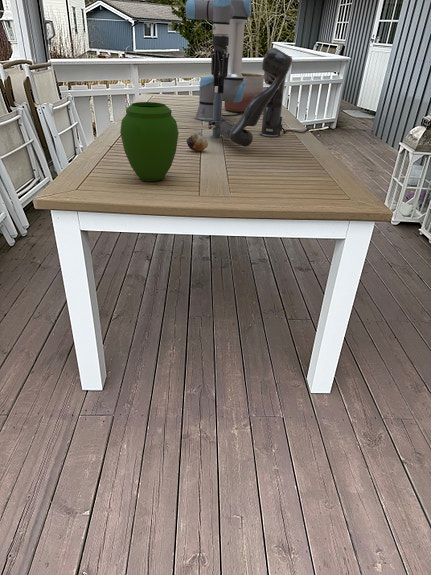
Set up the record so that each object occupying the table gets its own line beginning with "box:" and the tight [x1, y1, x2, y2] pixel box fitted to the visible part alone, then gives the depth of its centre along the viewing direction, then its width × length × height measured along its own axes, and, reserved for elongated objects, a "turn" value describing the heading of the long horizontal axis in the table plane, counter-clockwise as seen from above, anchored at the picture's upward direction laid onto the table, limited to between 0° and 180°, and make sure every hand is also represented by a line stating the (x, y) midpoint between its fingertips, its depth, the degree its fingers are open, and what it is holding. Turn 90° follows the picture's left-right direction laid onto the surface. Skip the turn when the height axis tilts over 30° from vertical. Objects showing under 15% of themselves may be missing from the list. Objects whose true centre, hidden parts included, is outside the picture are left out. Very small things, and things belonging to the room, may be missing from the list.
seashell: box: [186, 132, 209, 152], centre depth 180 cm, size 10×6×8 cm, turn 97°
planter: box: [223, 72, 265, 114], centre depth 275 cm, size 25×25×22 cm
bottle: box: [211, 93, 223, 139], centre depth 202 cm, size 4×4×23 cm
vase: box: [119, 101, 179, 182], centre depth 140 cm, size 20×20×24 cm
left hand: (218, 92), depth 197 cm, fingers closed on cap, 4 cm apart
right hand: (215, 122), depth 207 cm, fingers closed on bottle, 4 cm apart
